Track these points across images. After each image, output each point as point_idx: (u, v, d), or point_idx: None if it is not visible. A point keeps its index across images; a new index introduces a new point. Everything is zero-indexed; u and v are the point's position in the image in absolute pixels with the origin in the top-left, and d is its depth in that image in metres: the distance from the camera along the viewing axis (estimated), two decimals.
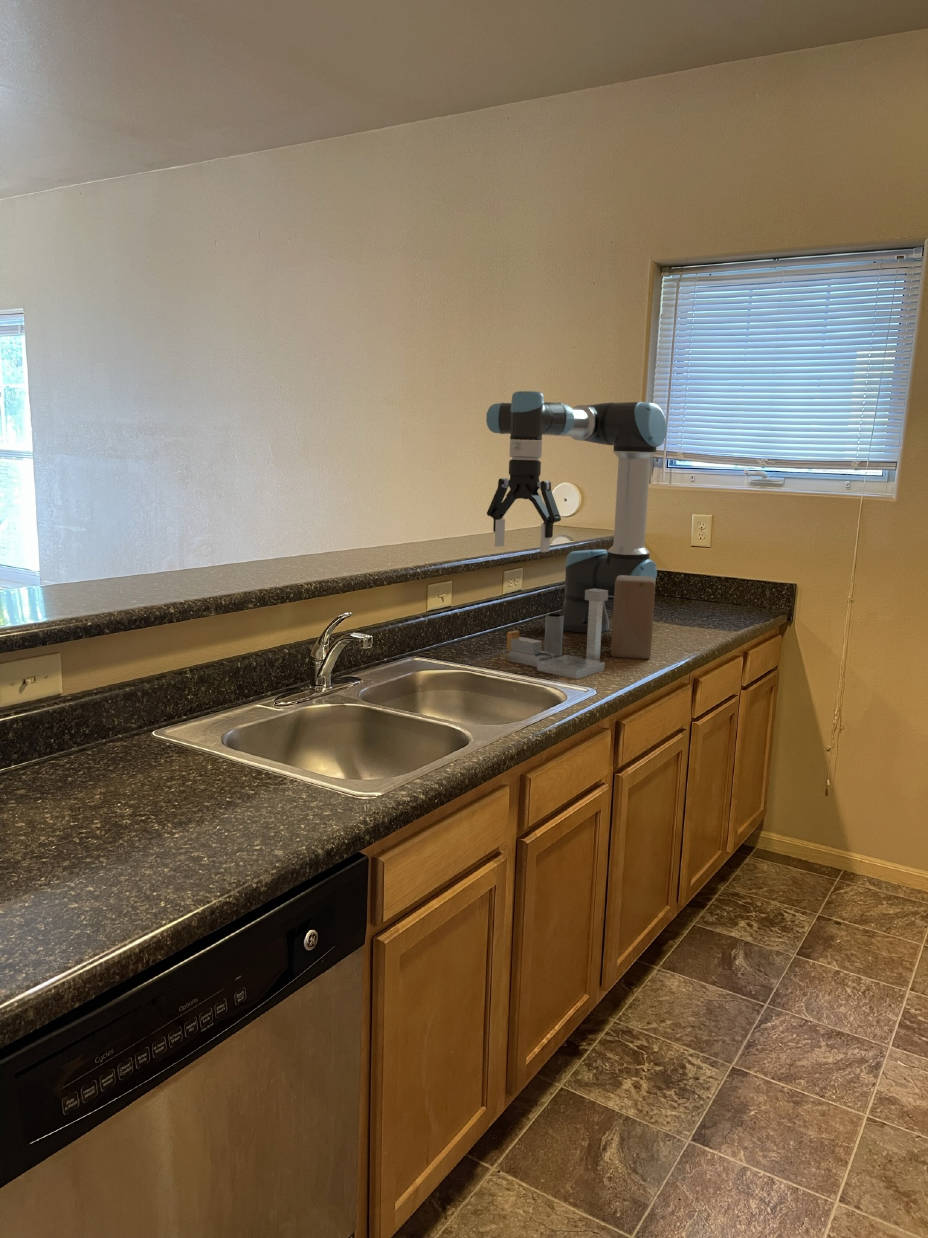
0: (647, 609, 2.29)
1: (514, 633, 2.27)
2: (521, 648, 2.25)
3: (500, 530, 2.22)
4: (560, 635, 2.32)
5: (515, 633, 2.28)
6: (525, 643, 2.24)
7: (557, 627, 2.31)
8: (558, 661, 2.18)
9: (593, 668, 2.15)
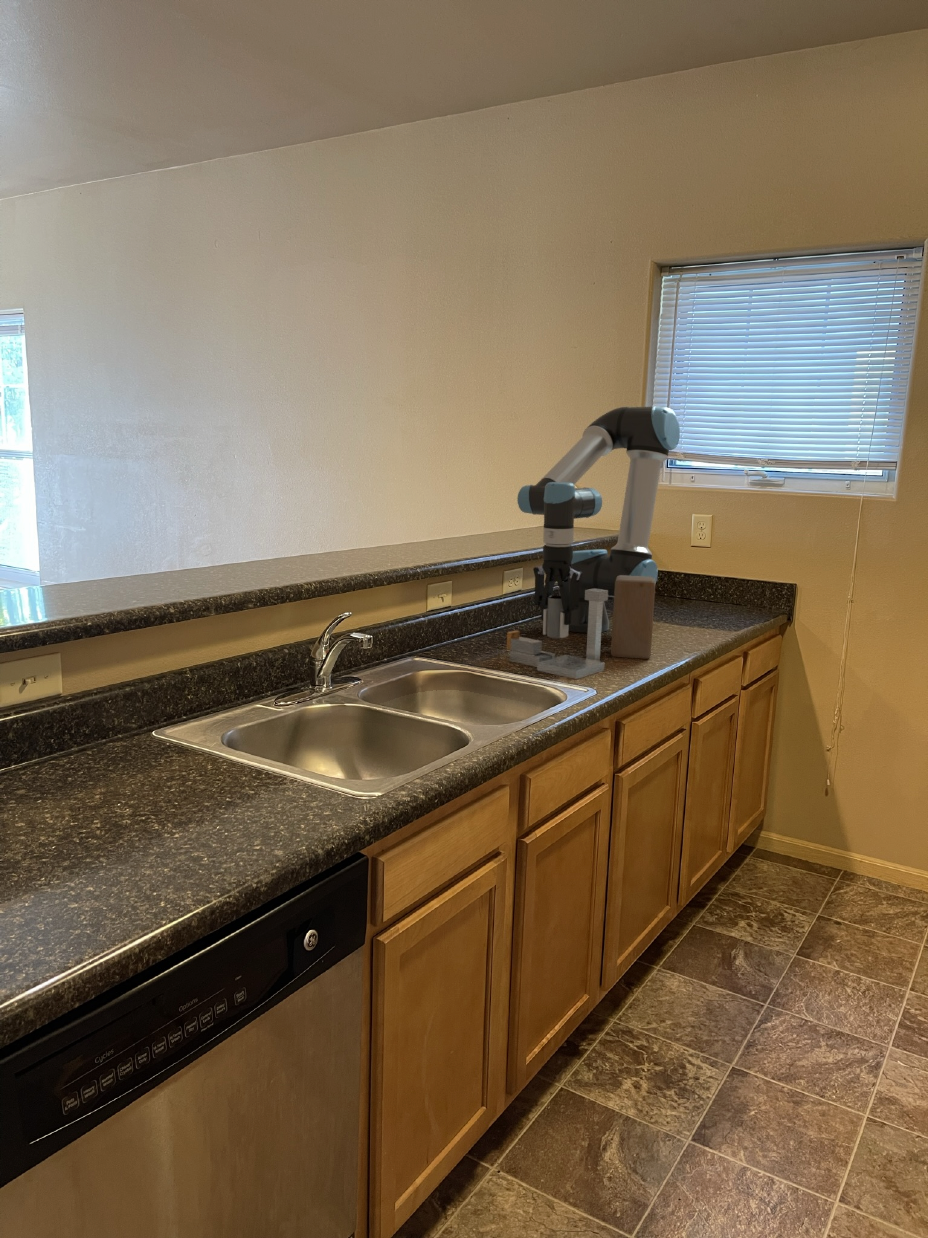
0: (647, 609, 2.29)
1: (514, 633, 2.27)
2: (521, 648, 2.25)
3: None
4: None
5: (515, 633, 2.28)
6: (525, 643, 2.24)
7: (560, 609, 2.31)
8: (558, 661, 2.18)
9: (593, 668, 2.15)
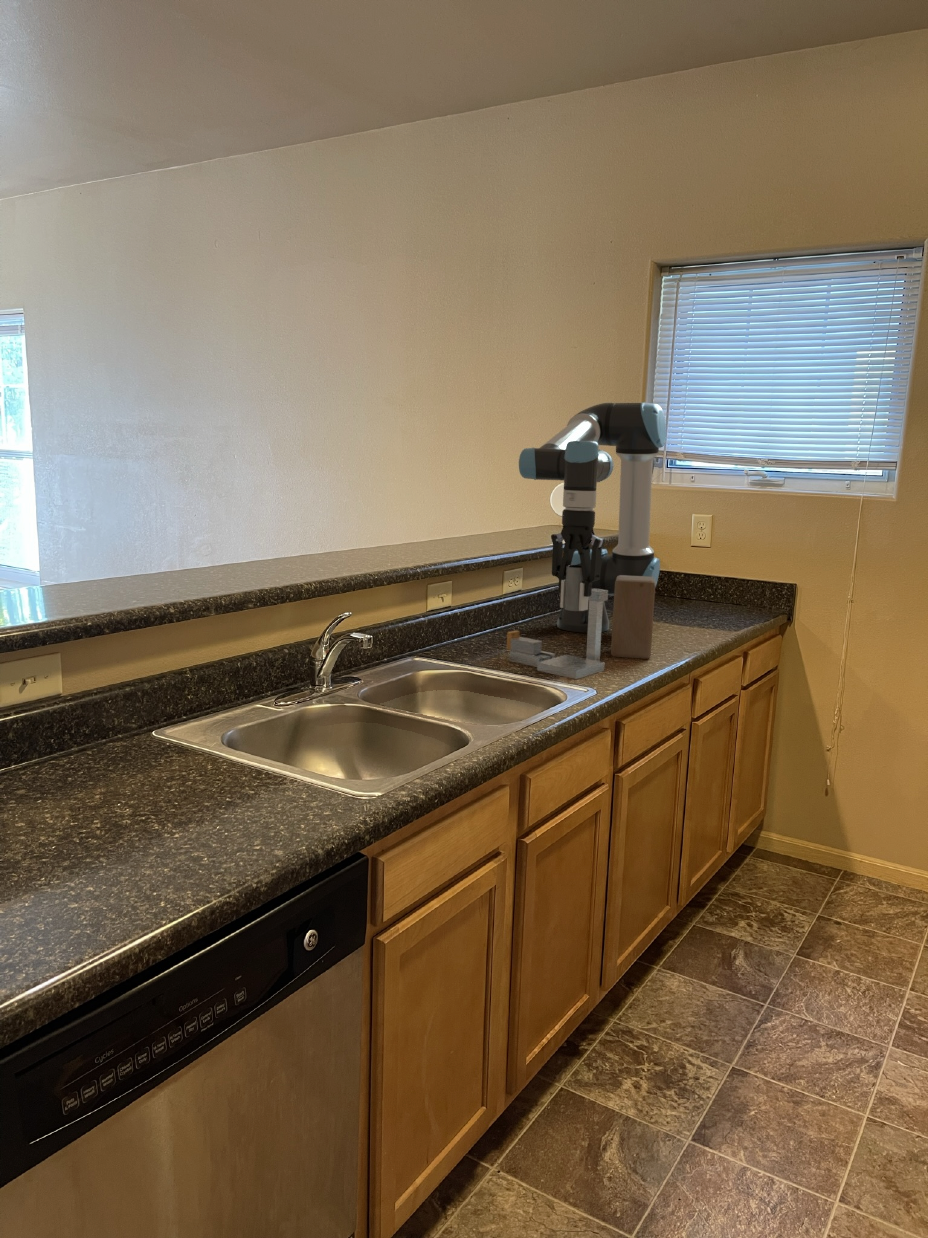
0: (647, 609, 2.29)
1: (514, 633, 2.27)
2: (521, 648, 2.25)
3: None
4: None
5: (515, 633, 2.28)
6: (525, 643, 2.24)
7: (579, 579, 2.12)
8: (558, 661, 2.18)
9: (593, 668, 2.15)
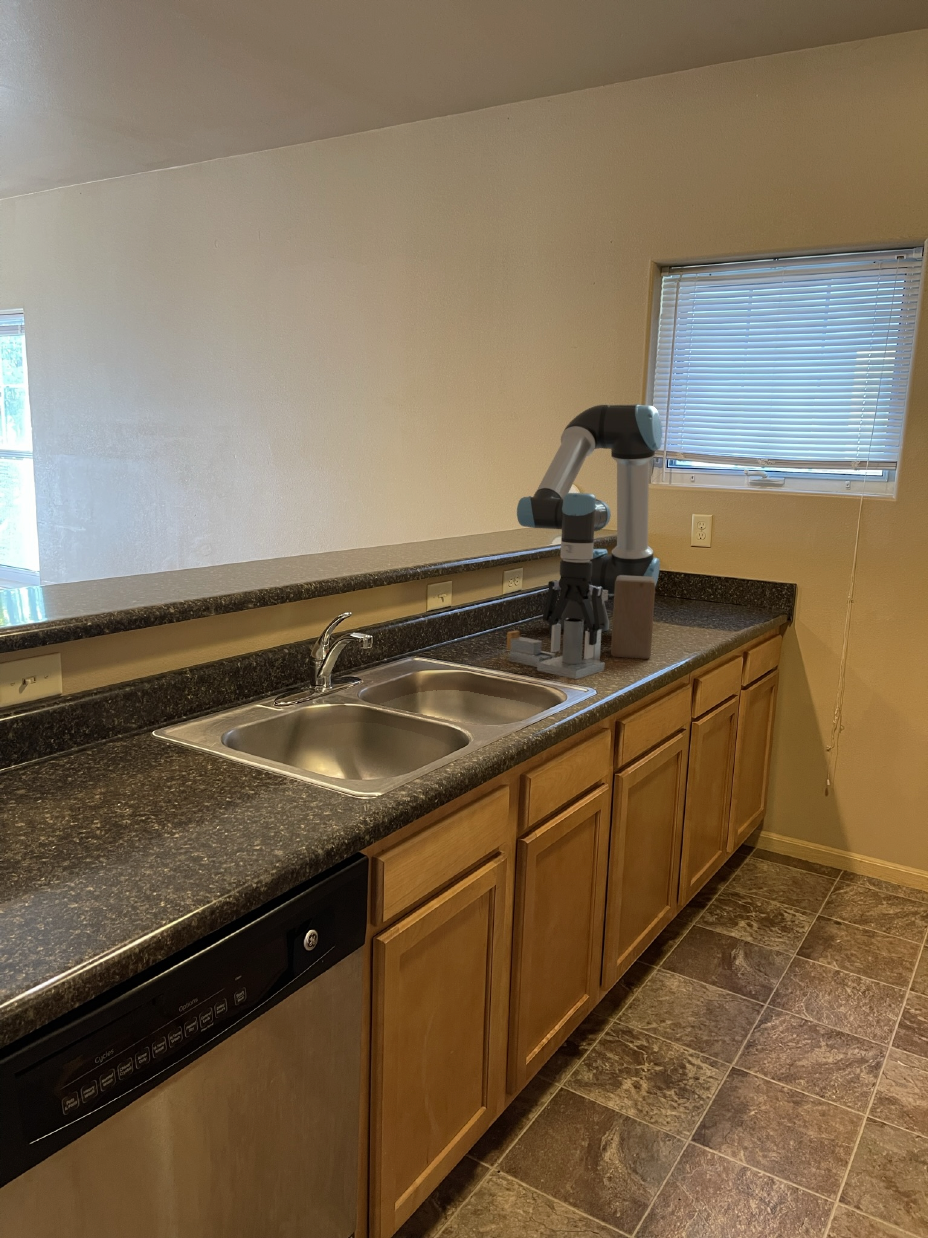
0: (647, 609, 2.29)
1: (514, 633, 2.27)
2: (521, 648, 2.25)
3: (556, 635, 2.19)
4: (580, 642, 2.15)
5: (515, 633, 2.28)
6: (525, 643, 2.24)
7: (577, 633, 2.14)
8: (558, 661, 2.18)
9: (593, 668, 2.15)
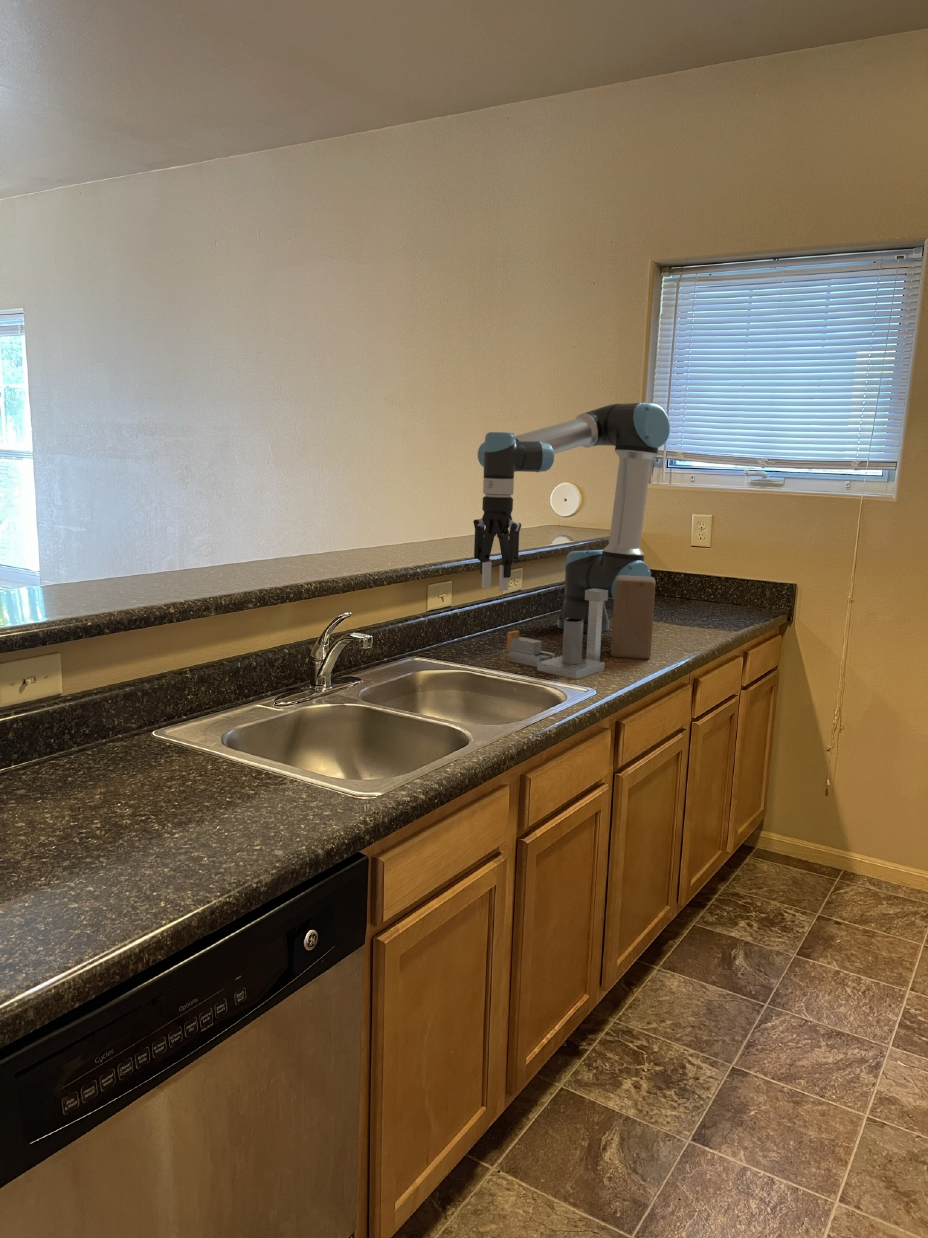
0: (647, 609, 2.29)
1: (514, 633, 2.27)
2: (521, 648, 2.25)
3: (487, 572, 2.31)
4: (580, 642, 2.15)
5: (515, 633, 2.28)
6: (525, 643, 2.24)
7: (577, 633, 2.14)
8: (558, 661, 2.18)
9: (593, 668, 2.15)
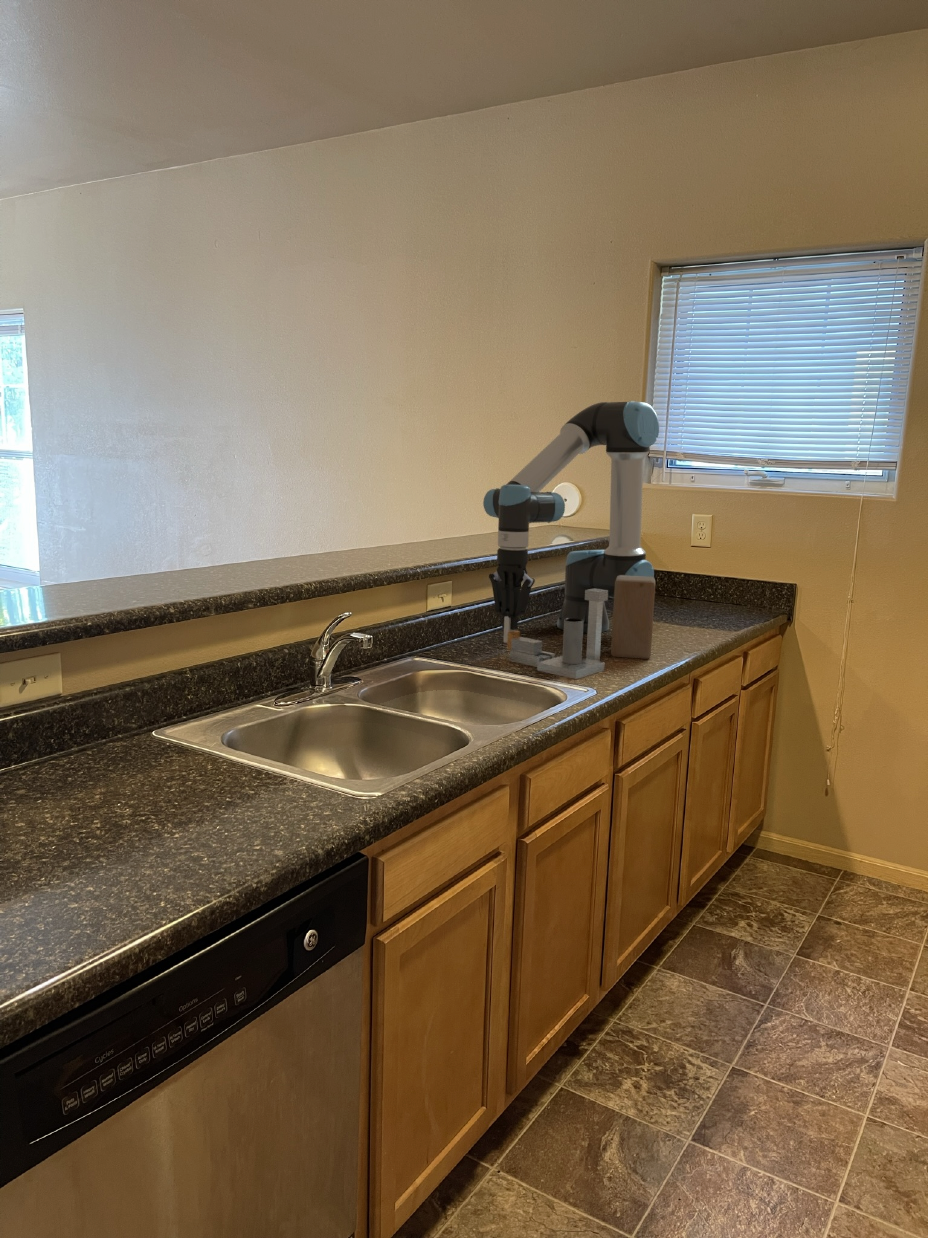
0: (647, 609, 2.29)
1: (514, 633, 2.27)
2: (521, 649, 2.25)
3: None
4: (580, 642, 2.15)
5: (515, 633, 2.27)
6: (525, 643, 2.24)
7: (577, 633, 2.14)
8: (558, 661, 2.18)
9: (593, 668, 2.15)
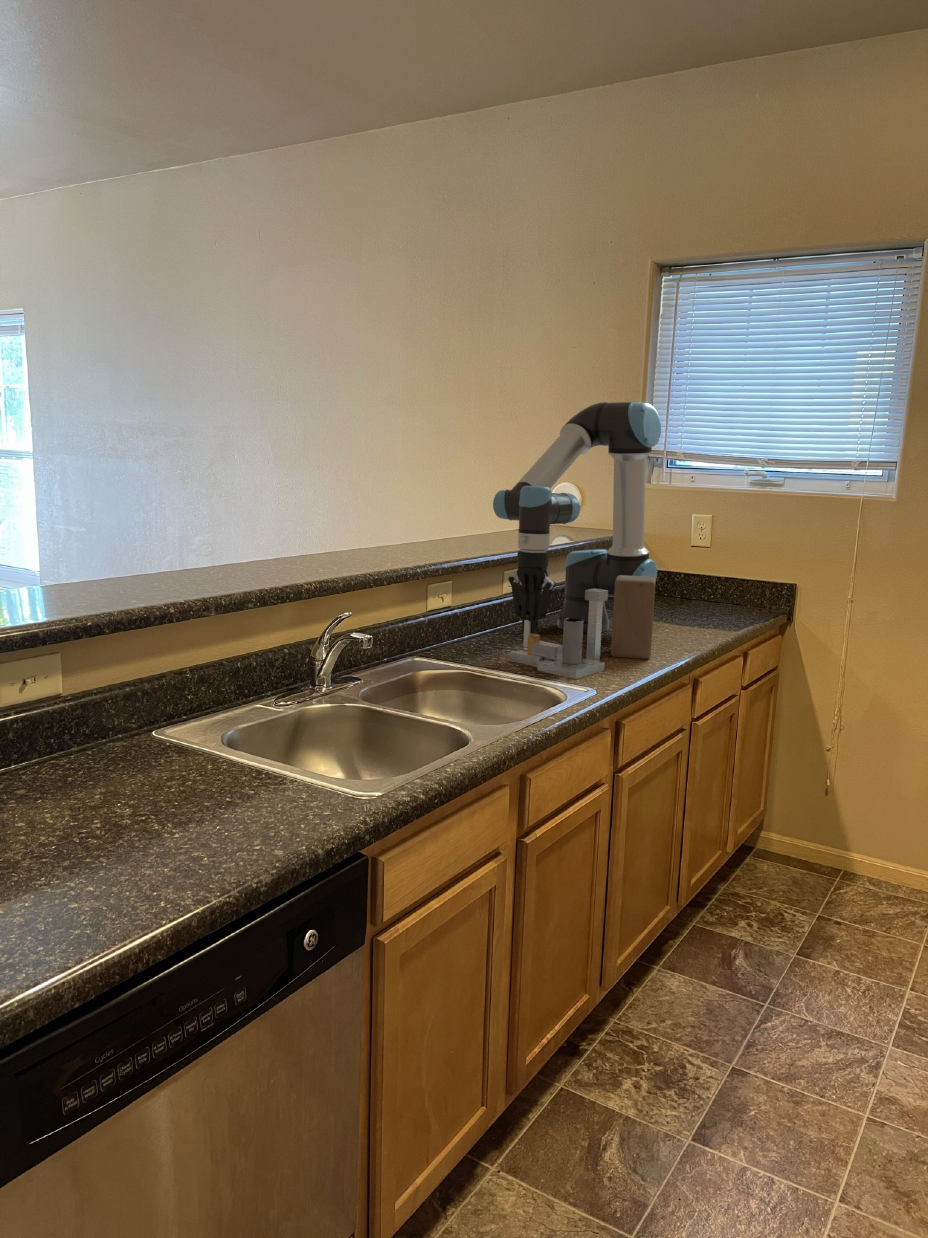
0: (647, 609, 2.29)
1: (535, 637, 2.23)
2: (542, 653, 2.21)
3: None
4: (580, 642, 2.15)
5: (536, 637, 2.24)
6: (546, 647, 2.20)
7: (577, 633, 2.14)
8: (558, 661, 2.18)
9: (593, 668, 2.15)
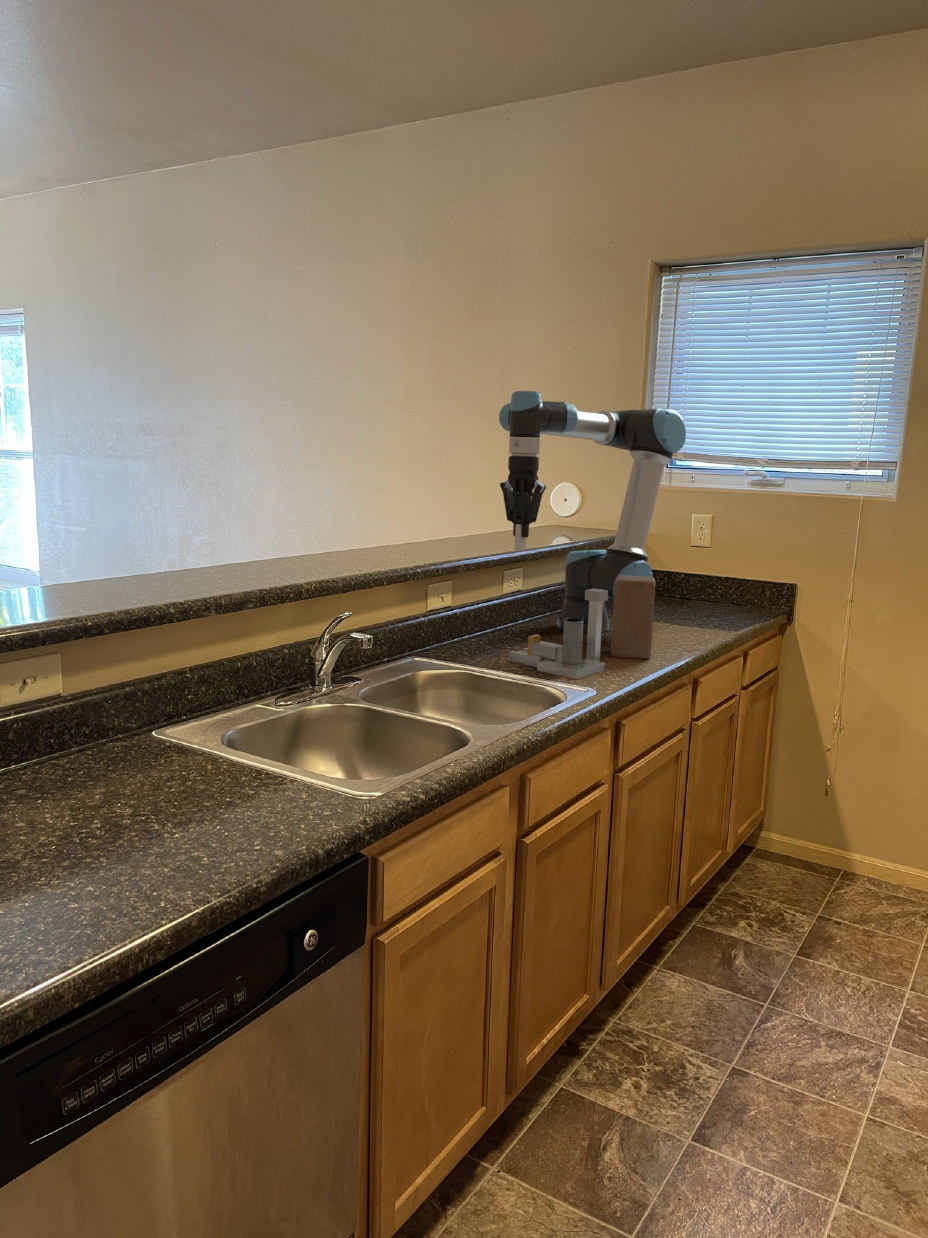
0: (647, 609, 2.29)
1: (535, 637, 2.23)
2: (542, 653, 2.21)
3: None
4: (580, 642, 2.15)
5: (536, 637, 2.23)
6: (547, 647, 2.19)
7: (577, 633, 2.14)
8: (558, 661, 2.18)
9: (593, 668, 2.15)
